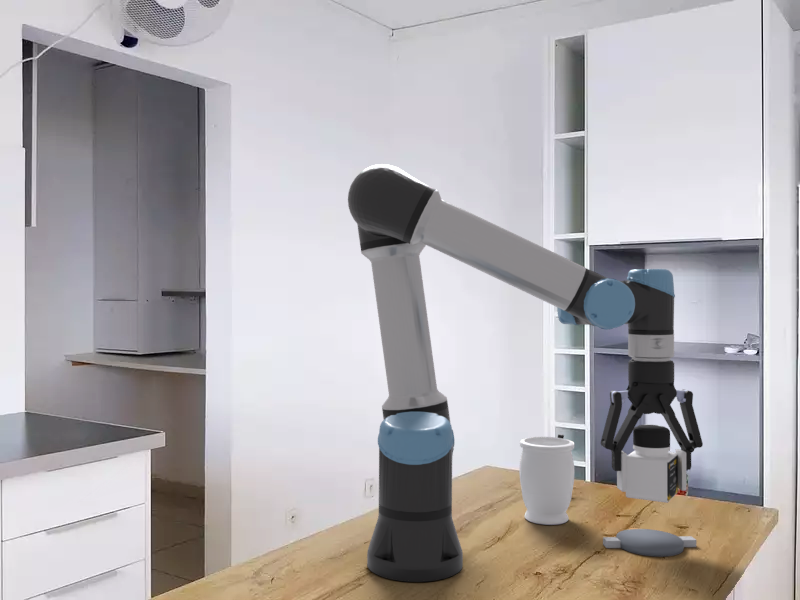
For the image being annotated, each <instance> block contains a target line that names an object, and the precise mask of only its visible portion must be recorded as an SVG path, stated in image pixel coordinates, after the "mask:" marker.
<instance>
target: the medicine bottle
mask: <svg viewBox="0 0 800 600" xmlns="http://www.w3.org/2000/svg"><path fill="white" fill-rule="evenodd" d="M632 434H633V435H632V436H633V437H632V439H633V440H632V442H633V443H632V444H633V445H632V449H633V451H632V452H630V453H629V454H627V492H625V497H626V498H628V499H636V500H644V501H652V502H658V503H659V502H660V503H670V501H671V500H672V499H673V498H674V497H675V496H676V495H677V494H678V488H677V453H676V452H673V451H671V429H670V428H668V427H666V426H663V425H660V424H659V425H658V424H648V423H647V424H640V425H637V426H635V427H634V429H633V431H632Z"/></svg>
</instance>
